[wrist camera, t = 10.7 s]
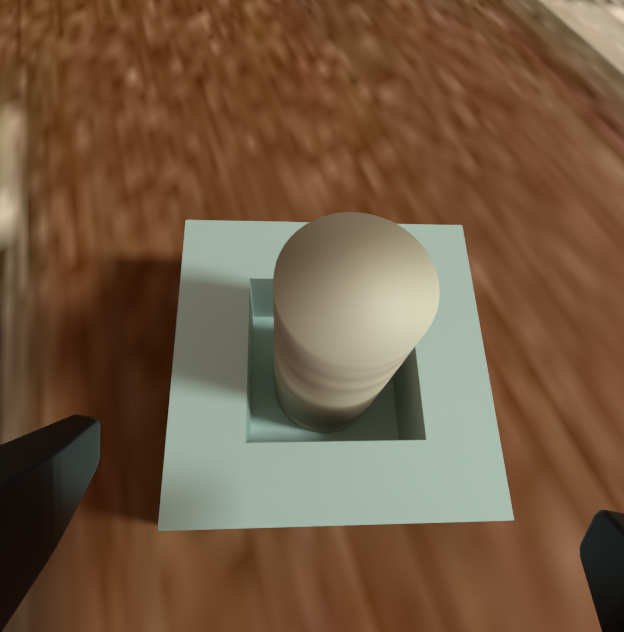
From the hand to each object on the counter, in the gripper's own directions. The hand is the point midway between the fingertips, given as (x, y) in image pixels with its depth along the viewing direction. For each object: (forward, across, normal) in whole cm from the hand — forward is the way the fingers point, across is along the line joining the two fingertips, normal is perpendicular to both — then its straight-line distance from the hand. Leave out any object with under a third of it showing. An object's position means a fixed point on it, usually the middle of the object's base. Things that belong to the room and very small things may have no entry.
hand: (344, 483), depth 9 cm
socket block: (+13, 0, +6) cm, 14 cm away
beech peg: (+12, 0, +5) cm, 13 cm away
